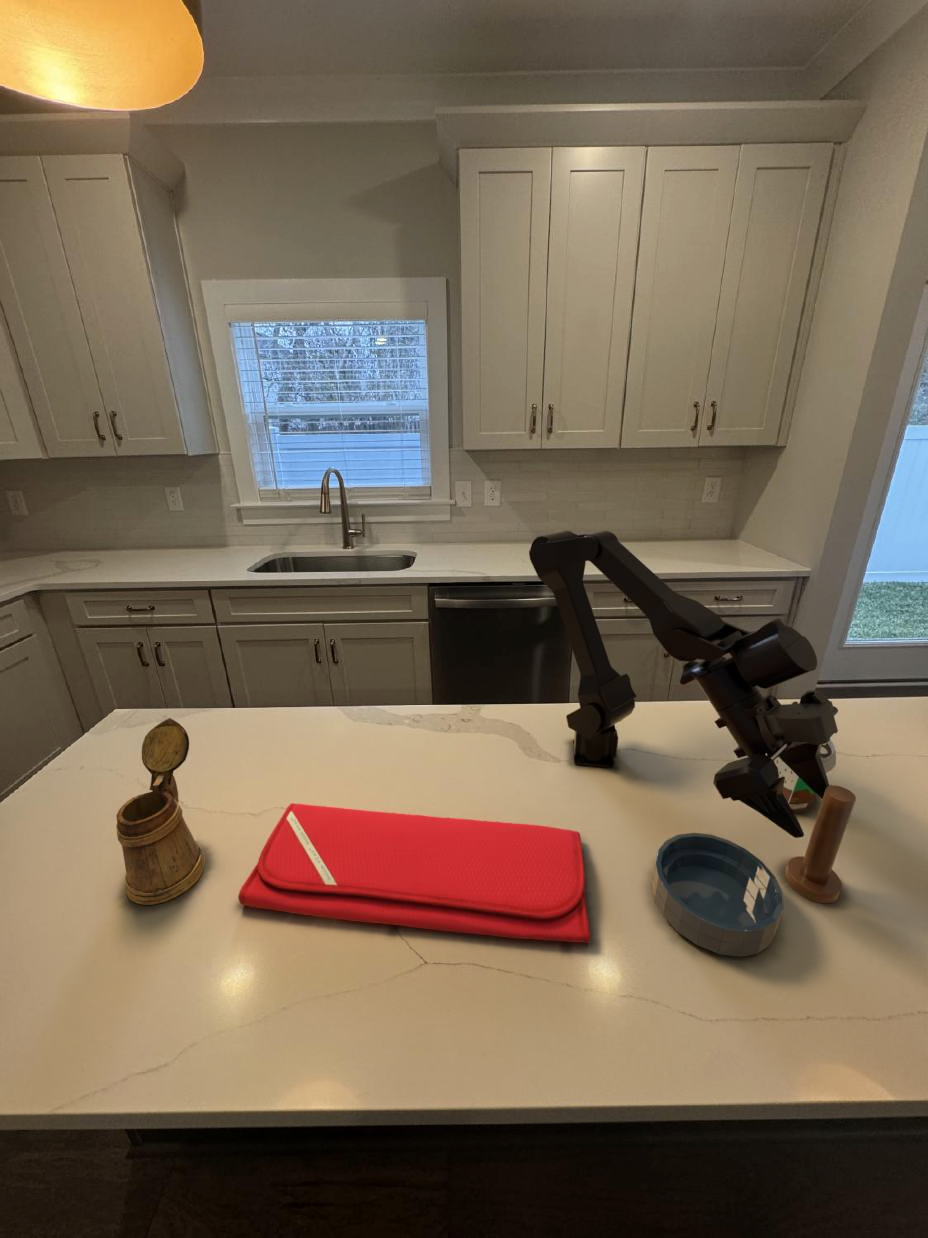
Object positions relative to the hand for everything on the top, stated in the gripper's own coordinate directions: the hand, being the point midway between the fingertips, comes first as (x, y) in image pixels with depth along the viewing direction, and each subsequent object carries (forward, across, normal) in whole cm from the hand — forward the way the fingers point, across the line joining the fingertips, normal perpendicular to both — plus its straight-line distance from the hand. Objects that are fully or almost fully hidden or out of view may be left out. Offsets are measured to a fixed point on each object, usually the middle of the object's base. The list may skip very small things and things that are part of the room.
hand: (815, 817), depth 60 cm
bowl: (+3, -12, +10) cm, 16 cm away
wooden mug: (-31, -60, +44) cm, 81 cm away
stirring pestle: (+8, 0, +6) cm, 9 cm away
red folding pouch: (-15, -36, +28) cm, 48 cm away
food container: (+2, +16, +11) cm, 20 cm away
